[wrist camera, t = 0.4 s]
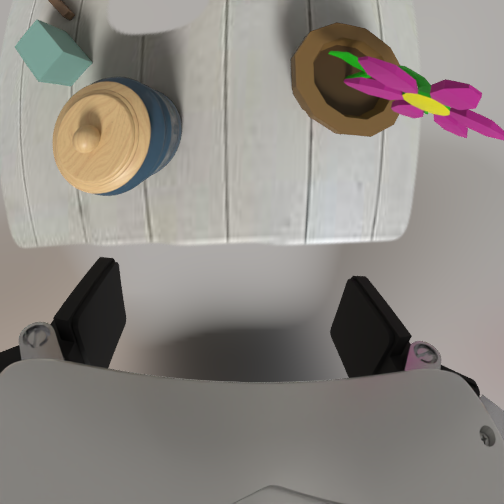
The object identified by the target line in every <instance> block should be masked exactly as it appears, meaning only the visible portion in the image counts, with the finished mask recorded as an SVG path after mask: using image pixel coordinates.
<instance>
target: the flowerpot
mask: <svg viewBox="0 0 504 504" xmlns="http://www.w3.org/2000/svg"><path fill="white" fill-rule="evenodd" d="M291 76H292V90H293V95H294V96H295V98H296V100H297V101H298V103H299V104H300V106H301V108H302V109H303V110H305V111H306V113H307V114H308V116H309V117H310V118H312V119H314V120H315V121H317V122H318V123H320V124H322V125H323V126H325V127H326V128H328V129H329V130H331V131H332V132H334V133H336V134H348V135H359V136H369V137H371V136H373V135H375V134H377V133H379V132H381V131H382V130H384V129H386V128H388V127H390V126H392V125H394V123H395V121H396V119H397V117H398V116H399V114H401V115H405V116H408V117H411V118H419V117H423V113H425V114H428V112H429V113H432V114H434V121H435V122H436V123H438V124H439V125H440V126H441V127H442V128H444V129H445V130H447V131H449V132H452V133H454V134H456V135H458V136H461V137H464V138H467V131H468V129H467V127H468V128H470V129H472V130H474V131H477V132H479V133H481V134H483V135H485V136H488V137H492V138H496V139H500V140H504V131H503V130H502V129H501V128H500V127H499V126H498V125H497V124H495V122H493V121H492V120H490V119H488V118H486V117H484V116H482V115H480V114H477V113H475V112H473V111H471V110H468V109H474V108H476V107H477V105H478V103H479V101H480V99H481V96H482V93H481V92H480V91H478V90H477V89H475V88H474V87H472V86H471V85H469V84H465V83H460V82H456V81H451V80H443V81H440V82H438V83H435V84H433V85H430V84H429V83H428V81H427V80H426V79H425V78H424V77H422V76H421V75H419V74H417V73H416V72H414V71H412V70H411V69H409V68H407V67H405V66H400V64H399V62H398V61H397V59H396V57H395V55H394V53H393V51H392V50H391V48H390V47H389V46H388V45H386V44H385V43H384V42H383V41H381V40H380V39H379V38H378V37H376V36H375V35H374V34H372V33H371V32H370V31H368V30H367V29H365V28H361V27H356V26H352V25H347V24H342V23H334V24H331V25H328V26H325V27H322V28H319V29H317V30H314V31H311V32H310V33H309V34H308V35H307V36H306V37H305V38H304V40H303V41H302V43H301V44H300V46H299V47H298V49H297V51H296V52H295V54H294V55H293V57H292V58H291ZM417 86H418V88H417ZM450 107H451V108H450Z"/></svg>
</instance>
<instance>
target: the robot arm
mask: <svg viewBox="0 0 504 504" xmlns="http://www.w3.org/2000/svg"><path fill="white" fill-rule="evenodd" d="M125 324H126V313H125V307H124V301H123V294H122V287H121V280H120V271H119V264H118V263H117V262H115V260H114V259H113V258H104V257H100V258H99V259H98V260H97V261H96V262H95V264H94V265H93V266H92V267H91V269H90V270H89V271H88V272H87V274H86V275H85V276H84V277H83V279H82V280H81V281H80V282H79V284H78V285H77V286H76V288H75V289H74V290H73V292H72V293H71V294H70V296H69V297H68V298H67V300H66V301H65V302H64V304H63V305H62V307H61V308H60V309H59V311H58V312H57V313H56V315H55V316H54V320H53V321H52V323H51V324H48V323H45V322H36V323H32V324H30V325H28V326H27V327H25V328H24V329H23V330H22V332H21V333H20V336H19V345H18V346H16V347H13V348H11V349H8V350H6V351H3V352H0V504H504V411H503V410H502V409H501V408H499V407H498V406H497V405H496V404H494V403H493V402H492V401H490V400H489V399H488V398H486V397H485V396H484V395H482V396H481V397H479V395H480V392H479V388H478V386H477V384H476V382H475V381H474V380H472V379H471V378H468V377H466V376H464V375H461V374H459V373H457V372H455V371H453V370H451V369H449V368H447V367H444V366H442V365H441V356H440V353H439V352H438V350H437V349H436V348H435V347H434V346H432V345H431V344H429V343H427V342H423V341H416V342H414V343H412V344H410V343H409V340H410V338H411V335H410V333H409V332H408V330H407V329H406V328H405V326H404V325H403V324H402V322H401V321H400V320H399V318H398V317H397V316H396V314H395V313H394V312H393V310H392V309H391V308H390V306H389V305H388V304H387V302H386V301H385V300H384V299H383V297H382V296H381V295H380V294H379V292H378V291H377V290H376V288H375V287H374V286H373V285H372V284H371V283H370V281H369V280H368V278H366V277H365V276H353V277H352V278H351V279H349V280H348V281H347V283H346V286H345V289H344V292H343V295H342V298H341V301H340V304H339V307H338V310H337V313H336V316H335V318H334V321H333V324H332V327H331V331H330V333H331V337H332V339H333V342H334V344H335V347H336V349H337V351H338V353H339V356H340V358H341V360H342V362H343V365H344V367H345V370H346V372H347V374H348V377H349V378H344V379H333V380H320V381H303V382H265V383H264V382H221V381H204V380H190V379H179V378H169V377H161V376H153V375H145V374H138V373H132V372H126V371H120V370H114V369H108V367H109V364H110V361H111V359H112V356H113V354H114V351H115V348H116V346H117V343H118V341H119V338H120V336H121V334H122V331H123V329H124V326H125Z"/></svg>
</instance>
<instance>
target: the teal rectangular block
mask: <svg viewBox="0 0 504 504" xmlns="http://www.w3.org/2000/svg"><path fill="white" fill-rule="evenodd" d="M15 48H16V50H17V51H18V53H19V54H20V56H21V57H22V59H23V60H24V61H25V63H26V64H27V66H28V67H29V69H30V70H31V72H32V73H33V74H34V76H35V77H36V79H37V80H38V81H39V82H45V83H53V84H60V85H66V86H72V85H73V83H74V82H75V81H76V80H77V79H78V78H79V77H80V76H81V75H82V73H83V72H84V71H85V70H86V69H87V68H88V67H89V66H90V65H91V64H92V63H93V62H92V61H91V60H90V59H89V58H88V57H87V55H86V54H85V53H84V52H83V51H82V50H81V49H80V47H79V46H78V45H77V44H76V43H75V42H74V41H73V39H72V38H71V37H70V36H69V35H68V34H67V33H66V32H65V31H63V30H61V29H58V28H56V27H54V26H51V25H49V24H47V23H44V22H42V21H39V20H36V21H35V22H34V23H33V25H32V26H31V27H30V28H29V29H28V31H27V32H26V33H25V34H24V35H23V37H22V38H21V39H20V41H19V42H18V43H17V45H16V46H15Z"/></svg>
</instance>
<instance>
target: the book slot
mask: <svg viewBox="0 0 504 504" xmlns="http://www.w3.org/2000/svg"><path fill="white" fill-rule="evenodd" d="M48 1H49V2H50V3H51V4H52V5H53V6H54V7H55V8H56V9H57V10H58V11H59V13H60V14H61V15H62V16H63V17H65V18H67V19H69V20H71V19H72V18H73V17H74V16H75V14H74V13H73V12H72V11H71V10H70V9H69V8H68V7H67V6H66V5H65V4H64V3H63V2H62V1H61V0H48Z"/></svg>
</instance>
